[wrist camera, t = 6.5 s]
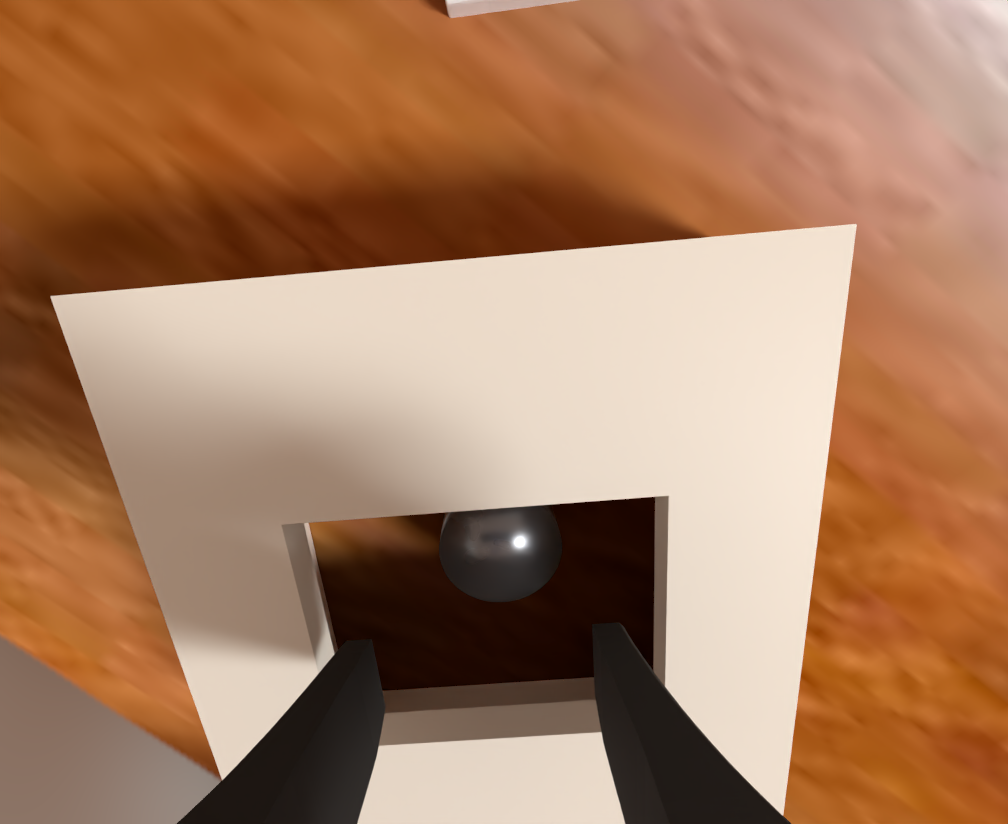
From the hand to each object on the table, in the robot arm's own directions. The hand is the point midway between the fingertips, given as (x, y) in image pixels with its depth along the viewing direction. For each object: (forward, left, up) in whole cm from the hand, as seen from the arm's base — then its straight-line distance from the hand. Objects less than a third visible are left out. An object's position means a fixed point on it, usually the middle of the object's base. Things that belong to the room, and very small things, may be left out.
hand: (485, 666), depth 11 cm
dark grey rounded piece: (0, 0, -8) cm, 8 cm away
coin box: (0, 0, -7) cm, 7 cm away
